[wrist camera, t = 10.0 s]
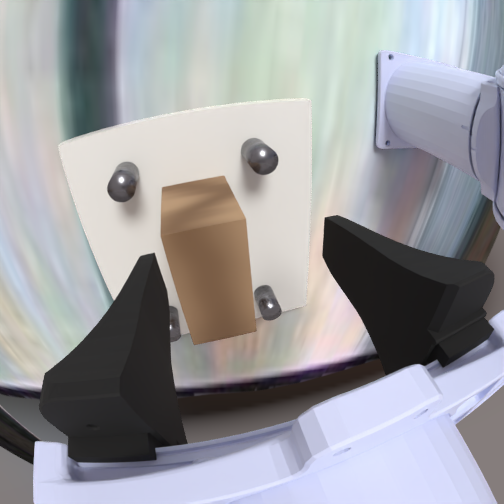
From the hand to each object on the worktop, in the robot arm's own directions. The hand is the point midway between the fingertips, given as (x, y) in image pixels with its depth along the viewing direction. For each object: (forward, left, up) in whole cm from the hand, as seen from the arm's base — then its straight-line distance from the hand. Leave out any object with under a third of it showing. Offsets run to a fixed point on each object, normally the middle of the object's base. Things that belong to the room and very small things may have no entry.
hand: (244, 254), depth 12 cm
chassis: (+1, +4, -9) cm, 10 cm away
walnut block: (+1, +4, -8) cm, 9 cm away
